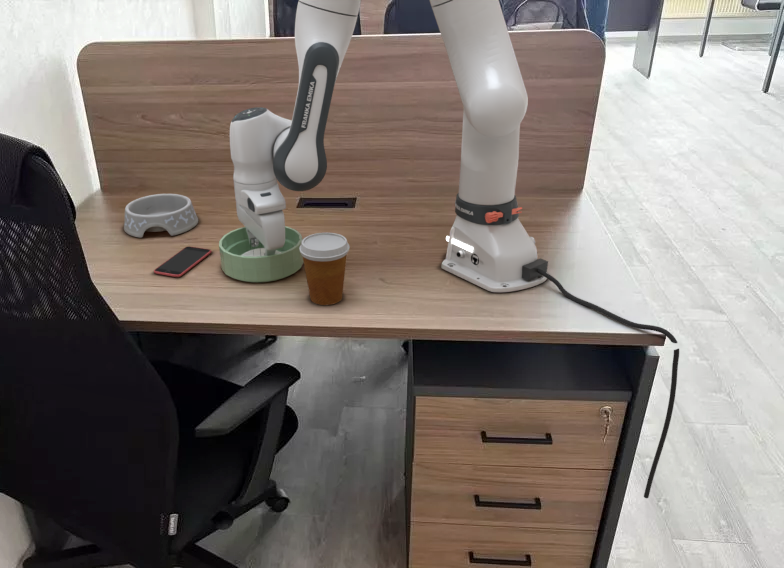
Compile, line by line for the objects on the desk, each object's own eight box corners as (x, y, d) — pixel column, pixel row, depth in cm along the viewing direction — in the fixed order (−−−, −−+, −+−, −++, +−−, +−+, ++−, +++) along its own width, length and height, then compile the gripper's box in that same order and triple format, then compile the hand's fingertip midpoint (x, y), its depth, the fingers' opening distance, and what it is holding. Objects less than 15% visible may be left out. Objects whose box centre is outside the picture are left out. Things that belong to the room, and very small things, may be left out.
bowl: (316, 272, 152) (315, 246, 149) (237, 291, 147) (234, 264, 144) (285, 243, 166) (283, 218, 163) (212, 259, 161) (208, 234, 158)
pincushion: (290, 255, 159) (289, 231, 156) (290, 267, 154) (289, 243, 151) (236, 258, 159) (233, 234, 156) (234, 270, 154) (231, 246, 151)
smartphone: (151, 271, 156) (186, 245, 166) (152, 273, 156) (187, 247, 166) (179, 275, 153) (213, 249, 164) (179, 278, 153) (213, 251, 164)
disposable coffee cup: (299, 308, 139) (295, 251, 133) (305, 286, 147) (302, 231, 141) (348, 310, 138) (347, 252, 132) (352, 287, 146) (351, 231, 140)
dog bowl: (130, 214, 187) (126, 194, 184) (201, 209, 187) (198, 189, 184) (118, 240, 173) (114, 219, 170) (195, 235, 173) (192, 214, 170)
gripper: (226, 179, 155) (232, 239, 162) (258, 209, 139) (264, 274, 146) (253, 174, 157) (259, 234, 164) (289, 203, 141) (293, 268, 148)
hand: (261, 253), depth 155 cm, fingers open, 8 cm apart
